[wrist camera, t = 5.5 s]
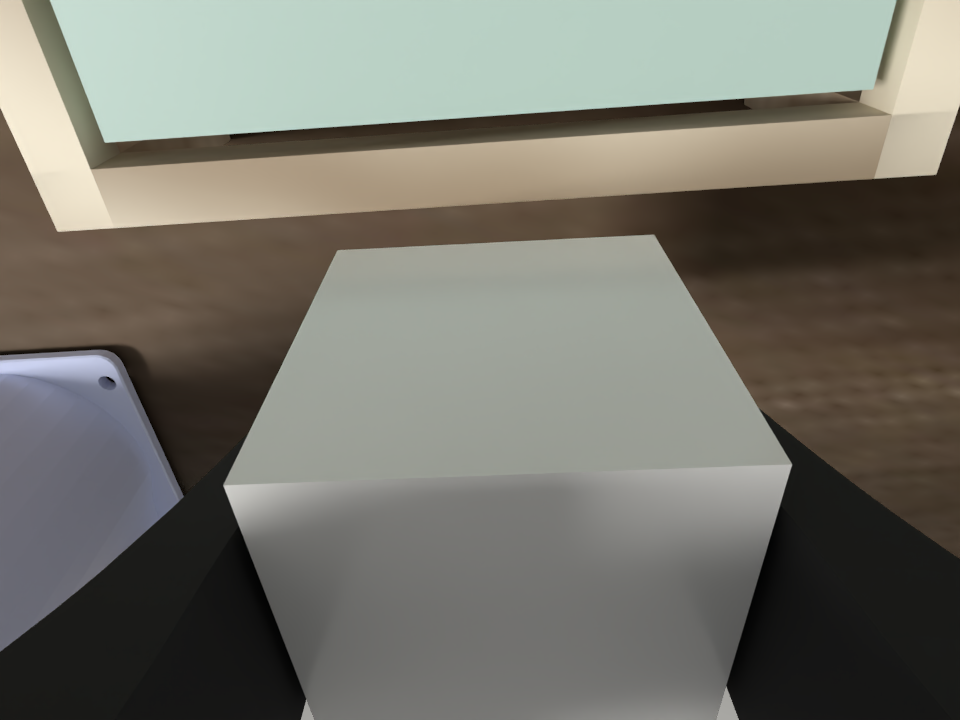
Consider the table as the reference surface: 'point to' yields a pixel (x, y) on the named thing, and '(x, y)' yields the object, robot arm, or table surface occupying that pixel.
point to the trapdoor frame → (473, 143)
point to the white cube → (509, 487)
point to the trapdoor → (448, 58)
